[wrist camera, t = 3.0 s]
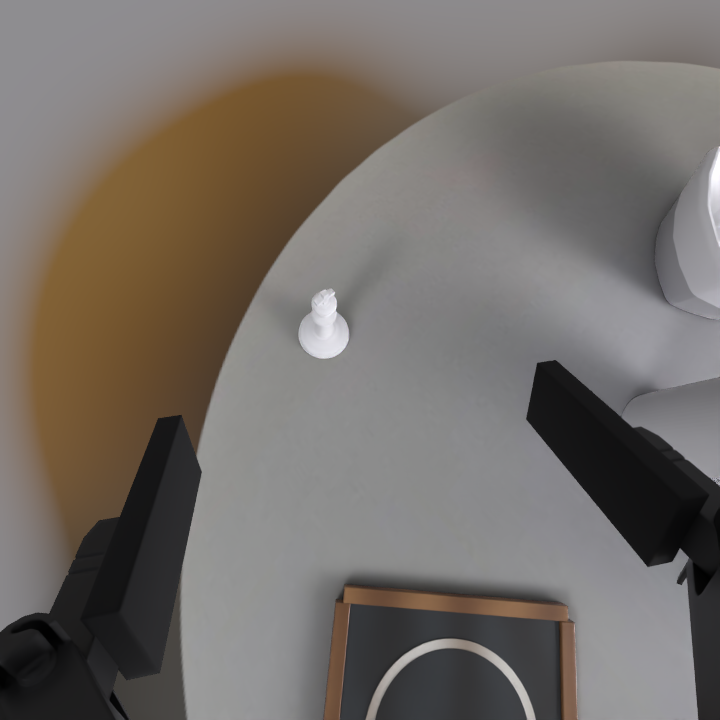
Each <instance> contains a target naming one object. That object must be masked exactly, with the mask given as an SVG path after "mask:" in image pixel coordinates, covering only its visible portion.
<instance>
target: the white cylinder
mask: <svg viewBox="0 0 720 720" xmlns="http://www.w3.org/2000/svg"><path fill="white" fill-rule="evenodd" d="M621 418H623V419H624V420H625V421H626V422H627V423H628V424H629V425H631V426H632V427H633V428H634V427H640V426H641V427H643V428H645V429H647V430H649V431H651V432H653V433H655V434H657V435H659V436H660V437H661V438H662V439H664V440H665V441H666V442H667V443H668V444H670V445H671V446H672V447H673V449H674V450H677V451H678V452H679V453H680V454H681V455H683V456H684V457H685V460H689V461H690V462H691V463H692V464H693V465H695V466H696V467H697V468H698V469H699V470H701V471H702V472H703V473H704V474H705V475H707V476H708V477H709V478H720V377H718V378H714V379H709V380H705V381H700V382H696V383H691V384H687V385H682V386H678V387H673V388H669V389H664V390H660V391H655V392H651V393H646V394H642V395H639V396H637V397H635V398H634V399H632V400H631V401H630V402H629V403H628V404H627V406H626V407H625V409H624V411H623V413H622V416H621Z"/></svg>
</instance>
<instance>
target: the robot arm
mask: <svg viewBox="0 0 720 720" xmlns="http://www.w3.org/2000/svg"><path fill="white" fill-rule="evenodd" d="M526 420H527V421H528V422H529V423H530V424H531V426H532V427H533V428H534V429H535V430H536V432H537V433H538V434H539V435H540V437H541V438H542V439H543V440H544V441H545V443H546V444H547V445H548V446H549V447H550V449H551V450H552V451H553V452H554V454H555V455H556V456H557V457H558V458H559V460H560V461H561V462H562V463H563V464H564V466H565V467H566V468H567V469H568V471H569V472H570V473H571V474H572V475H573V477H574V478H575V479H576V480H577V482H578V483H579V484H580V485H581V486H582V488H583V489H584V490H585V491H586V492H587V494H588V495H589V496H590V497H591V499H592V500H593V501H594V502H595V503H596V505H597V506H598V507H599V508H600V509H601V511H602V512H603V513H604V514H605V516H606V517H607V518H608V519H609V520H610V522H611V523H612V524H613V525H614V526H615V528H616V529H617V530H618V531H619V533H620V534H621V535H622V536H623V537H624V539H625V540H626V541H627V542H628V543H629V545H630V546H631V547H632V548H633V550H634V551H635V552H636V553H637V554H638V556H639V557H640V558H641V559H642V560H643V562H644V563H645V564H646V565H647V567H650V566H655V565H659V564H664V563H668V562H672V561H673V559H674V558H675V556H676V554H677V552H678V550H679V549H680V548H681V549H682V550H683V551H684V553H685V554H686V555H687V556H688V557H689V559H688V561H687V563H686V565H685V566H684V568H683V570H682V571H681V573H680V575H679V576H678V580H677V584H680V585H682V583H683V582H684V580H685V578H687V584H688V596H689V609H690V621H691V633H692V646H693V658H694V670H695V683H696V695H697V707H698V720H720V486H719V485H717V484H716V483H715V482H714V481H713V480H711V479H710V478H709V477H708V476H707V475H705V474H704V473H703V472H702V471H701V470H699V469H698V468H697V467H696V466H695V465H693V464H692V463H691V462H690V461H689V460H685V457H684V456H683V455H681V454H680V453H679V452H678V451H677V450H674V449H673V447H672V446H671V445H670V444H668V443H667V442H666V441H665V440H664V439H662V438H661V437H660V436H659V435H657V434H655V433H653V432H651V431H649V430H647V429H645V428H643V427H641V426H640V427H634V428H633V427H632V426H631V425H629V424H628V423H627V422H626V421H625V420H624V419H623V418H621V417H620V416H619V415H618V414H617V413H616V412H615V411H613V410H612V409H611V408H610V407H609V406H608V405H607V404H605V403H604V402H603V401H602V400H601V399H600V398H599V397H597V396H596V395H595V394H594V393H593V392H592V391H591V390H589V389H588V388H587V387H586V386H585V385H584V384H583V383H581V382H580V381H579V380H578V379H577V378H576V377H575V376H573V375H572V374H571V373H570V372H569V371H568V370H567V369H565V368H564V367H563V366H562V365H561V364H560V363H559V362H557V361H556V360H553V361H546V362H540V363H537V367H536V372H535V377H534V382H533V387H532V392H531V397H530V402H529V407H528V412H527V418H526ZM201 473H202V472H201V469H200V466H199V463H198V460H197V458H196V455H195V452H194V449H193V447H192V444H191V441H190V438H189V435H188V432H187V429H186V427H185V424H184V421H183V418H182V415H178V416H171V417H164V418H158V420H157V423H156V425H155V428H154V431H153V433H152V436H151V438H150V441H149V443H148V446H147V449H146V451H145V454H144V456H143V459H142V461H141V464H140V466H139V469H138V472H137V474H136V477H135V479H134V482H133V484H132V487H131V490H130V492H129V495H128V497H127V500H126V502H125V505H124V508H123V510H122V513H121V515H120V517H117V518H111V519H105V520H100V521H98V522H97V523H96V525H95V526H94V527H93V528H92V529H91V530H90V531H89V532H88V534H87V535H86V536H85V537H84V538H83V541H82V543H81V545H80V547H79V550H78V552H77V554H76V559H75V560H73V563H72V565H71V567H70V569H69V571H68V572H69V574H68V575H67V576H66V578H65V581H64V582H63V584H62V587H61V589H60V591H59V593H58V595H57V598H56V600H55V602H54V605H53V606H52V609H51V611H50V613H49V614H47V613H34V614H31V615H27V616H24V617H22V618H20V619H19V620H17V621H15V622H13V623H11V624H10V625H8V626H7V627H6V628H5V629H3V630H2V631H1V632H0V720H131V719H130V717H129V715H128V713H127V712H126V710H125V708H124V706H123V705H122V703H121V701H120V699H119V697H118V696H117V694H116V692H115V691H114V690H113V686H114V683H115V679H116V676H117V672H118V670H119V671H120V672H121V674H122V675H123V676H124V677H125V679H126V680H130V679H134V678H139V677H143V676H148V675H153V674H157V673H160V670H161V665H162V660H163V655H164V651H165V646H166V641H167V636H168V631H169V627H170V622H171V616H172V612H173V607H174V602H175V598H176V593H177V588H178V583H179V579H180V574H181V569H182V564H183V559H184V555H185V550H186V545H187V540H188V536H189V531H190V526H191V521H192V516H193V512H194V507H195V502H196V497H197V492H198V488H199V483H200V478H201Z"/></svg>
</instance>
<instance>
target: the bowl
mask: <svg viewBox="0 0 720 720" xmlns="http://www.w3.org/2000/svg"><path fill="white" fill-rule="evenodd" d="M654 260H655V264H656V269H657V274H658V278H659V282H660V285H661V288H662V290H663V293H664V296H665V298H666V300H667V301H668V302H669V303H670V304H671V305H673V306H675V307H678V308H680V309H682V310H684V311H686V312H689V313H692V314H696V315H699V316H702V317H706V318H709V319H720V146H717V147H715V148H713V149H711V150H709V152H708V153H707V154H706V156H705V157H704V159H703V160H702V162H701V163H700V165H699V166H698V168H697V169H696V171H695V172H694V174H693V175H692V177H691V178H690V180H689V181H688V183H687V184H686V186H685V187H684V189H683V190H682V192H681V194H680V196H679V197H678V199H677V200H676V202H675V203H674V205H673V206H672V208H671V209H670V211H669V212H668V214H667V215H666V217H665V218H664V220H663V221H662V223H661V224H660V227H659V231H658V234H657V238H656V246H655V258H654Z"/></svg>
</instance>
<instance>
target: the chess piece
mask: <svg viewBox="0 0 720 720" xmlns="http://www.w3.org/2000/svg"><path fill="white" fill-rule="evenodd" d="M334 294H335V292H334V291H333V289H332V288H330V289H329V290H327V291H326V290H325V289H324V290H323V291H322V292H319V293H317V294H316V295H315V296H314V297H313V299H312V302H311V305H312V308H313V309H312V312H311V313H309V314H308V315H307V316H305V318H304V319H303V320H302V322H301V324H300V327H299V332H298V336H299V341H300V344H301V346H302V347H303V349H304V350H305V351H306V352H307V353H308V354H310V355H312V356H314V357H317V358H322V359H326V358H331V357H334V356H336V355H338V354H340V353H341V352H342V351H343V350H344V349H345V347H346V345H347V343H348V340H349V329H348V325H347V323H346V321H345V319H344V318H343V317H342V316H341V315H340V314H338V313H337V312H336V307H337V301H336V298H335V297H334Z"/></svg>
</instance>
